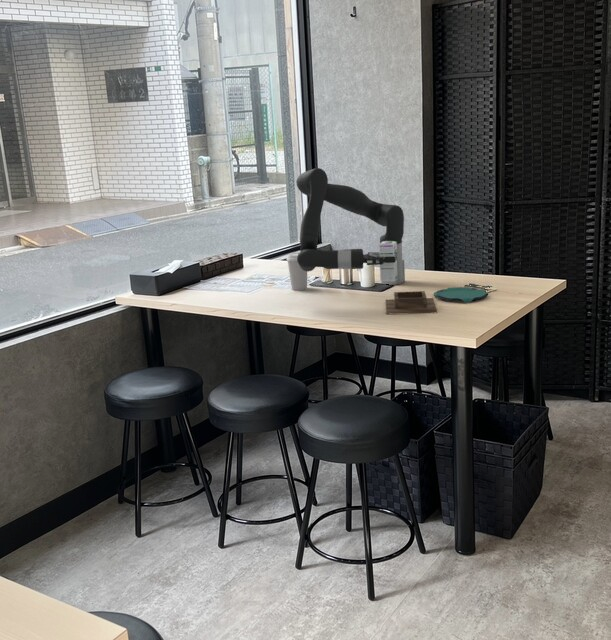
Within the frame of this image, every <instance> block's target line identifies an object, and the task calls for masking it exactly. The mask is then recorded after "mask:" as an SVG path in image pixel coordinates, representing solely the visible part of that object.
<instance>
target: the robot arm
mask: <svg viewBox="0 0 611 640" xmlns="http://www.w3.org/2000/svg"><path fill="white" fill-rule="evenodd" d="M328 181H329V178H328V175H327V173H326V171H325V170H324V169H323V168H320V167H316V168H313V169H309V170H307V171H304V172H302V173H300V175H298V176H297V178H296V181H295V183H296V187H297V189H298V190H299V191H300V192H301V193H302V194H304V195H306V196H308V197H309V201H308V205H307V208H306V210H305V212H304V214H303V216H302V219H301V223H300V232H299V243H300V250H299V252H298V253H299V254H298V256H297V261H298V264H299V266H300V268H301V269H302V270H304V271H307V272H312V271H313V270H315V269H316V268H324V269H326V270H363V269H364V264H366V266H377V265H378V266H380V265H382V264H384V263H394V262H395V257H394V256H392V257H384V256H380V254H379V251H375V252H373V251H372V252H371V251H368V252H367V253H364V250H363V249H362V248H350V249H349V248H347V249H346V248H345V249H337V250H336V249H335V250H333V249H332V250H322V249H318V241H319V231H320V222H321V221H320V220H321V215H322V210H323V207H324V206H323V205H324V201H325V202H327V203H329V204H332V205H334V206H337V207H339V208H340V209H343V210H345V211H347V212H350V213H352V214H356V215H358V216H363V217H365V218H367V219H369V220H371V221H372V222H374V223H376V224H378V225H379V226H382V227H385V233H384V234H383V235H380V237H379V244H380V243H382V242H384V241H396V242H397V266H398V279H397V280H396V281H395V282H383V281H381V280H380V282H381V284H383V285H386V284H389V286H390V285H391V286H392V285H401V284H402V283H405V282H406V273H405V271H406V269H405V266H406V265H405V259H403V237H404V228H405V215H404V211H403V209H402V207H401V206H400V205H397V204H387V203H380V202H377V201H374V200H371V199H370V198H369V197H368V196H367V195H366V194H365V193H364V192H363V191H361V190H359V189H356V188H354V187H351V186H348V185H342V184H334V183H329V182H328Z"/></svg>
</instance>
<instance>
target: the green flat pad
mask: <svg viewBox="0 0 611 640" xmlns="http://www.w3.org/2000/svg"><path fill="white" fill-rule="evenodd" d="M470 285H471V286H470ZM476 286H482V287H476ZM487 287H489V288H490V287H493V286H492V285H480V284H476V283H470V282H469V283H468V284H464V287H463V286H459V287H457V286H453V287H447V288H445V289H440V290H437V291H435V292H433V297H435V299H436V298H440V299H442V300H446V301H447V300H448V301H458V302H459V301H461V302H464V303H465V304H469V303H471V301H474V300H480V299H484V298H486V297H487V296H488V295H489V292H486V290H487V289H485V288H487ZM479 288H481V289H479ZM484 289H485V290H484Z"/></svg>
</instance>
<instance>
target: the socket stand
mask: <svg viewBox="0 0 611 640" xmlns="http://www.w3.org/2000/svg"><path fill="white" fill-rule="evenodd" d="M393 295H394V299H389V298H388V299H385V312H386V315H390V314H389V313H408V314H427V313H429V314H430V313H431V312H433V314H434V312H436V313H438V311H437V310H438V309H437V306H436V302H435V299H434V297H427V295H426V291H425V290H423V291H422V290H420V291H418V290H417V291H396V292H395V291H394V292H393ZM431 314H432V313H431Z"/></svg>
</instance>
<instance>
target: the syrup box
mask: <svg viewBox="0 0 611 640" xmlns="http://www.w3.org/2000/svg"><path fill="white" fill-rule="evenodd" d="M378 248H379V249H378V250H379V251H378V252H379V254H380V256H384V257H392V256H394V257H395V262H394V263H384V264H382V265H379V271H380V273H379V274H380V276H379V277H380V279H379V280H380V282H381V281H383V282H395V281H396V280H397V279H398V266H397V242H396V241H384V242H382V243H380V242H379V244H378Z"/></svg>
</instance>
